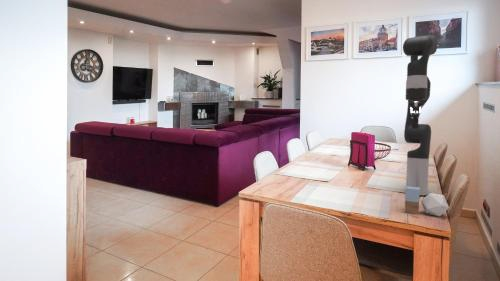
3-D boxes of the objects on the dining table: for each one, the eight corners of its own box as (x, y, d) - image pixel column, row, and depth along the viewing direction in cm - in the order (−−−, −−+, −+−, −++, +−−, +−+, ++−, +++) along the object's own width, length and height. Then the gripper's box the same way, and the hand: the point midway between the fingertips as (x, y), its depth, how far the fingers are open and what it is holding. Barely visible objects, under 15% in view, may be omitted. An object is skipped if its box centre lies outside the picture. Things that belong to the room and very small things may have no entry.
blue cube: (405, 198, 133) (405, 186, 133) (418, 199, 131) (419, 187, 131) (405, 200, 129) (405, 188, 128) (419, 202, 126) (419, 189, 126)
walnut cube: (405, 210, 133) (405, 198, 133) (418, 211, 131) (419, 199, 131) (404, 212, 129) (405, 200, 129) (418, 214, 127) (419, 202, 126)
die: (418, 214, 126) (447, 222, 121) (422, 192, 125) (452, 199, 120) (418, 208, 133) (446, 216, 129) (423, 188, 132) (451, 194, 128)
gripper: (406, 89, 136) (404, 128, 136) (405, 86, 123) (404, 128, 124) (426, 89, 132) (424, 128, 133) (427, 85, 119) (426, 128, 120)
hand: (414, 128), depth 128 cm, fingers open, 8 cm apart
